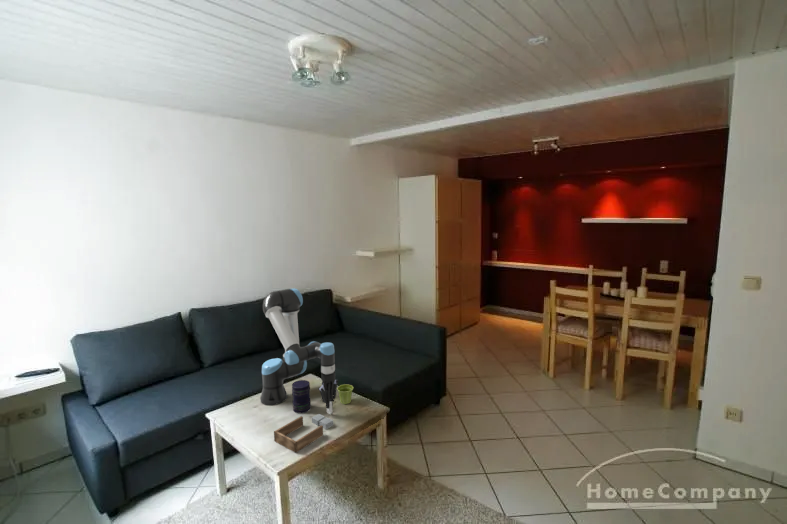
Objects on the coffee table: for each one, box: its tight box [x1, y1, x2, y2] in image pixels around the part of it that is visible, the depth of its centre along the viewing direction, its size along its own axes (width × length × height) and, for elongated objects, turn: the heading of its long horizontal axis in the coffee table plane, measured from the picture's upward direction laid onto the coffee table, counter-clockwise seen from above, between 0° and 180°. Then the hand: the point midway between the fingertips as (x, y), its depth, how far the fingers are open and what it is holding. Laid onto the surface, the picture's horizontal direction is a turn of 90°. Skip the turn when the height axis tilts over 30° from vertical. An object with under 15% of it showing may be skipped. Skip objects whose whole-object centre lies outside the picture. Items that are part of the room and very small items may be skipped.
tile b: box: [319, 416, 334, 430], centre depth 194 cm, size 5×5×3 cm
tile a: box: [311, 413, 326, 427], centre depth 197 cm, size 5×5×3 cm
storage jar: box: [291, 379, 311, 414], centre depth 210 cm, size 10×10×15 cm
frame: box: [273, 415, 324, 454], centre depth 183 cm, size 16×17×5 cm
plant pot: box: [336, 383, 354, 405], centre depth 218 cm, size 9×9×9 cm
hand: (329, 412), depth 204 cm, fingers closed
